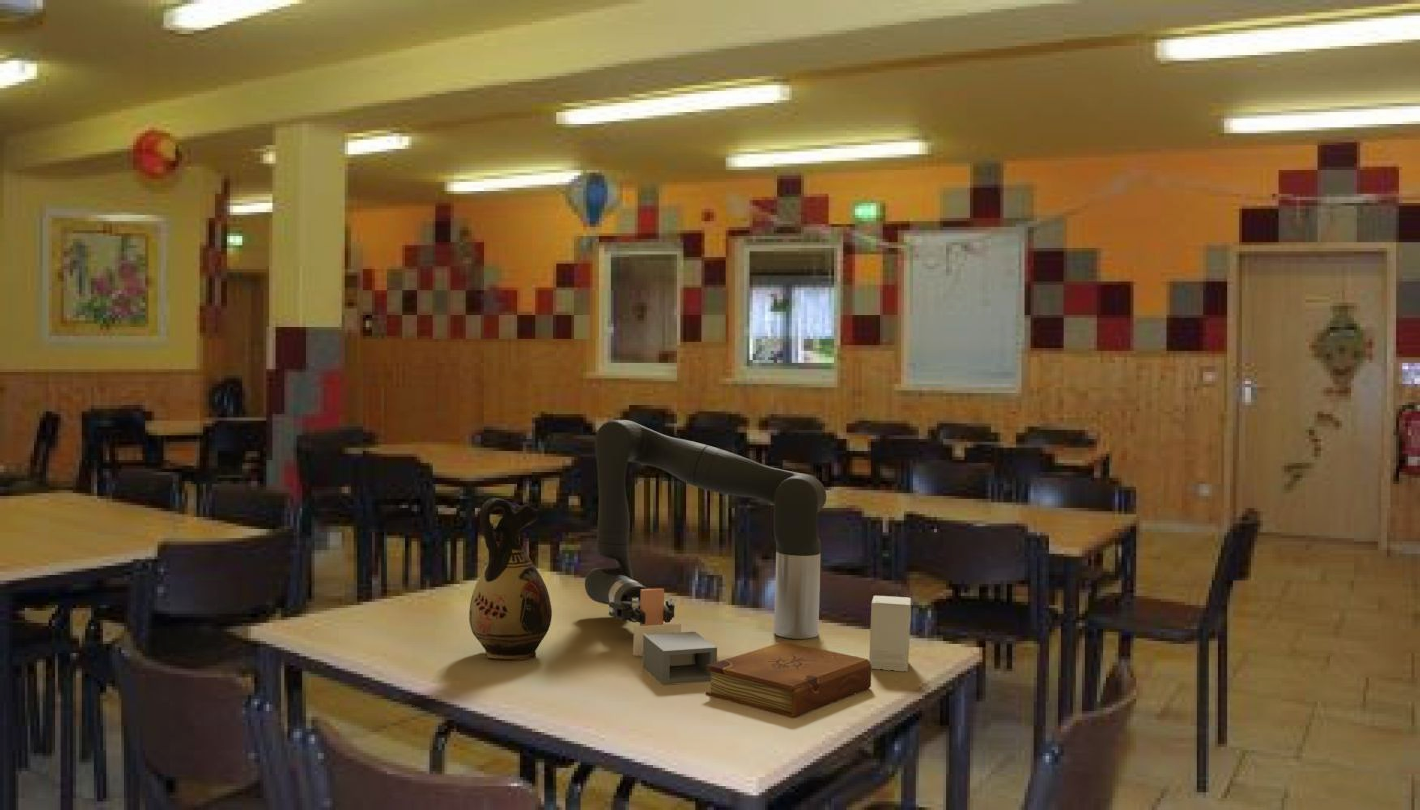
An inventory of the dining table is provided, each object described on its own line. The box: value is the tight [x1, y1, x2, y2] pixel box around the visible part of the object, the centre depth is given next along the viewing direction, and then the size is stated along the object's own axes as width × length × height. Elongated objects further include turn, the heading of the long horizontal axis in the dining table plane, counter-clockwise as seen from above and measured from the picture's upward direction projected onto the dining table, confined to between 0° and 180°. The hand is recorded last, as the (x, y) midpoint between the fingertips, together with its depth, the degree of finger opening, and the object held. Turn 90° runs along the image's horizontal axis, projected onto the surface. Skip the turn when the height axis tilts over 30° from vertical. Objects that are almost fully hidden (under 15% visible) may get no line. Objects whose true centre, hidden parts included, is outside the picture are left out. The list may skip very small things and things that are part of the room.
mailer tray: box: [632, 587, 695, 666], centre depth 219 cm, size 9×17×12 cm, turn 20°
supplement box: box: [868, 595, 912, 672], centre depth 220 cm, size 7×7×13 cm
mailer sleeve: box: [642, 631, 718, 686], centre depth 211 cm, size 10×12×6 cm
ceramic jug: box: [468, 497, 553, 661], centre depth 220 cm, size 17×15×30 cm
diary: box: [705, 641, 872, 719], centre depth 201 cm, size 23×19×6 cm
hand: (656, 618), depth 224 cm, fingers closed on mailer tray, 4 cm apart
